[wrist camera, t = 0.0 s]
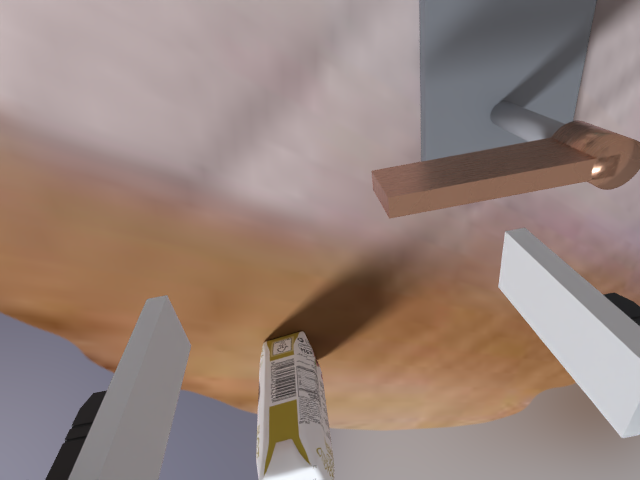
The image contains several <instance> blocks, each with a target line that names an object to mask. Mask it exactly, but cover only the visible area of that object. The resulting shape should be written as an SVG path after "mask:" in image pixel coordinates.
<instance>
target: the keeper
mask: <svg viewBox="0 0 640 480" xmlns="http://www.w3.org/2000/svg"><path fill="white" fill-rule="evenodd" d="M639 169H640V142H639V141H637V140H634V139H631V138H628V137H626V136H623V135H620V134H617V133H614V132H611V131H609V130H606V129H603V128H600V127H597V126H594V125H592V124H589V123H586V122H583V121H572V122H569V123H566V124H565V125H563V126H561V127H560V128H559V129H558V130H557V131H556V132H555V133H554V134H553V136H552V137H551V138H546V139H540V140H535V141H530V142H524V143H519V144H514V145H508V146H503V147H497V148H492V149H487V150H481V151H476V152H471V153H465V154H460V155H455V156H449V157H444V158H438V159H433V160H428V161H422V162H417V163H412V164H406V165H401V166H396V167H390V168H385V169H379V170H374V171H372V181H373V190H374V192H375V194H376V195H377V197H378V199H379V201H380V202H381V204H382V206H383V208H384V210H385V211H386V213H387V215H388V217H389V218H394V217H400V216H405V215H410V214H416V213H421V212H426V211H432V210H437V209H442V208H448V207H453V206H458V205H464V204H469V203H474V202H480V201H485V200H490V199H496V198H501V197H506V196H512V195H517V194H522V193H528V192H533V191H538V190H543V189H549V188H554V187H559V186H565V185H570V184H575V183H581V182H586V181H587V182H589V183H591V184H593V185H594V186H596V187H598V188H600V189H605V190H608V189H614V188H617V187H619V186H621V185H623V184H625V183H626V182H628V181H629V180H630V179H631V178H632V177H633V176H634V175H635V174H636V173H637V172H638V170H639Z"/></svg>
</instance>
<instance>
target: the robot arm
mask: <svg viewBox="0 0 640 480" xmlns="http://www.w3.org/2000/svg"><path fill="white" fill-rule="evenodd" d="M499 288H500V290H501V291H502V292H503V293H504V294H505V296H506V297H507V298H508V299H509V301H510V302H511V303H512V304H513V305H514V307H515V308H516V309H517V310H518V312H519V313H520V314H521V315H522V316H523V318H524V319H525V320H526V321H527V323H528V324H529V325H530V326H531V327H532V329H533V330H534V331H535V332H536V334H537V335H538V336H539V337H540V338H541V340H542V341H543V342H544V343H545V345H546V346H547V347H548V348H549V349H550V351H551V352H552V353H553V354H554V356H555V357H556V358H557V359H558V360H559V362H560V363H561V364H562V365H563V367H564V368H565V369H566V370H567V371H568V373H569V374H570V375H571V376H572V378H573V379H574V380H575V381H576V382H577V384H578V385H579V386H580V387H581V388H582V390H583V391H584V392H585V393H586V395H587V396H588V397H589V398H590V399H591V401H592V402H593V403H594V404H595V406H596V407H597V408H598V409H599V410H600V412H601V413H602V414H603V415H604V416H605V418H606V419H607V420H608V421H609V423H610V424H611V425H612V426H613V428H614V429H615V430H616V431H617V432H618V434H619V435H620V436H621V437H622V438H626V437H630V436H636V435H640V307H639V306H638V305H637V304H636V303H634V302H633V301H631V300H629V299H627V298H625V297H622V296H620V295H618V294H616V293H610V294H605V295H603V294H601V293H600V292H599V291H598V290H597V289H596V288H594V287H593V286H592V285H591V284H590V283H589V282H587V281H586V280H585V279H584V278H583V277H582V276H580V275H579V274H578V273H577V272H576V271H575V270H573V269H572V268H571V267H570V266H569V265H568V264H566V263H565V262H564V261H563V260H562V259H561V258H559V257H558V256H557V255H556V254H555V253H554V252H553V251H551V250H550V249H549V248H548V247H547V246H546V245H544V244H543V243H542V242H541V241H540V240H539V239H537V238H536V237H535V236H534V235H533V234H532V233H530V232H529V231H528V230H527V229H526V228H521V229H515V230H510V231H505V238H504V246H503V254H502V262H501V270H500V278H499ZM190 348H191V344H190V342H189V340H188V338H187V336H186V334H185V332H184V330H183V328H182V325H181V323H180V321H179V319H178V317H177V315H176V313H175V311H174V309H173V307H172V304H171V302H170V300H169V298H168V296H167V295H166V296H161V297H156V298H150V299H147V301H146V303H145V305H144V307H143V310H142V312H141V314H140V317H139V319H138V321H137V323H136V326H135V328H134V330H133V333H132V335H131V337H130V339H129V342H128V344H127V346H126V349H125V351H124V353H123V355H122V358H121V360H120V362H119V365H118V367H117V369H116V371H115V374H114V376H113V378H112V381H111V383H110V385H109V387H108V390H107V391H102V392H97V393H93V394H92V395H91V397H90V398H89V399H88V400H87V401H86V403H85V404H84V405H83V406H82V407H81V408H80V410H79V412H78V414H77V416H76V418H75V420H74V422H73V424H72V429H70V430H69V432H68V434H67V437H66V438H65V443H64V444H63V445H62V447H61V449H60V451H59V453H58V455H57V457H56V459H55V461H54V463H53V465H52V467H51V469H50V471H49V473H48V475H47V477H46V480H158V479H159V474H160V470H161V466H162V462H163V458H164V454H165V450H166V446H167V442H168V437H169V434H170V429H171V426H172V421H173V417H174V413H175V409H176V405H177V401H178V397H179V393H180V389H181V385H182V381H183V377H184V373H185V369H186V364H187V360H188V356H189V352H190Z"/></svg>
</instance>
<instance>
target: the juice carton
mask: <svg viewBox="0 0 640 480" xmlns="http://www.w3.org/2000/svg"><path fill="white" fill-rule="evenodd" d="M256 454H257V455H256V461H257V470H258V477H259V480H334V460H333V453H332V445H331V437H330V431H329V422H328V415H327V408H326V400H325V393H324V385H323V378H322V372H321V369H320V366H319V364H318V362H317V360H316V358H315V355H314V352H313V350H312V347H311V345H310V343H309V341H308V339H307V337H306V335H305V333H304V332H303V331H301V332H297V333H294V334H290V335H287V336H283V337H280V338H276V339H273V340H269V341H266V342H264V343H263V347H262V353H261V359H260V372H259V398H258V424H257V453H256Z"/></svg>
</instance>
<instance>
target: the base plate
mask: <svg viewBox="0 0 640 480" xmlns="http://www.w3.org/2000/svg"><path fill="white" fill-rule="evenodd" d="M596 1H597V0H419V8H420V88H421V162H422V161H428V160H433V159H438V158H444V157H449V156H455V155H460V154H465V153H471V152H476V151H481V150H487V149H492V148H497V147H503V146H508V145H514V144H519V143H524V142H530V141H535V140H540V139H546V138H551V137H552V136H553V134H554V133H555V132H556V131H557V130H558V129H559V128H560V127H561V126H563V125H565V124H566V123H569V122H572V121H573V118H574V113H575V108H576V103H577V97H578V92H579V87H580V82H581V77H582V72H583V67H584V62H585V57H586V52H587V47H588V42H589V37H590V32H591V27H592V21H593V16H594V11H595V6H596Z"/></svg>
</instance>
